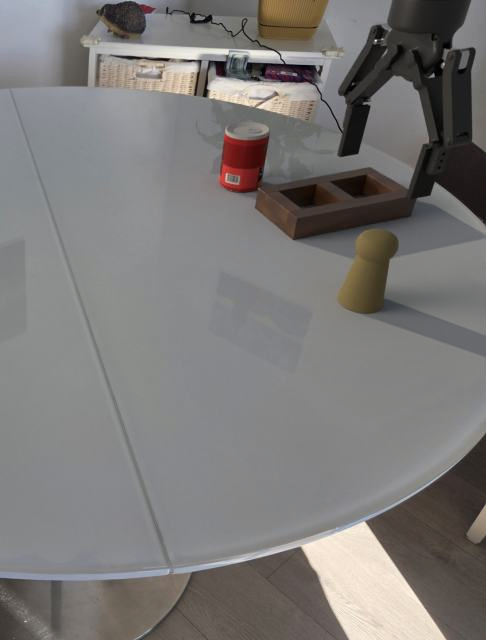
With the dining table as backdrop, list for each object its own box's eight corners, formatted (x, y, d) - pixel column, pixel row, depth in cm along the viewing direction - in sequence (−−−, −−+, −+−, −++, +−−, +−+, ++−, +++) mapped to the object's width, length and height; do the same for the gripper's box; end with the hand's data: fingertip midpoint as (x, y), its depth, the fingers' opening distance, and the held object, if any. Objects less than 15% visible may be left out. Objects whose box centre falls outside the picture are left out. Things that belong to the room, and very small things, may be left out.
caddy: (411, 216, 110) (418, 194, 108) (292, 239, 107) (297, 218, 104) (364, 186, 120) (370, 166, 117) (254, 207, 117) (258, 187, 114)
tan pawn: (360, 317, 89) (381, 249, 83) (327, 296, 94) (345, 230, 87) (392, 305, 91) (416, 237, 84) (359, 285, 95) (379, 219, 89)
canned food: (266, 191, 121) (276, 134, 114) (224, 194, 122) (231, 138, 115) (254, 174, 127) (263, 119, 120) (214, 177, 127) (220, 123, 121)
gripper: (333, -26, 77) (299, 144, 90) (497, 14, 58) (423, 223, 71) (388, -34, 78) (346, 136, 91) (567, 3, 59) (482, 211, 72)
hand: (380, 174), depth 81 cm, fingers open, 13 cm apart
